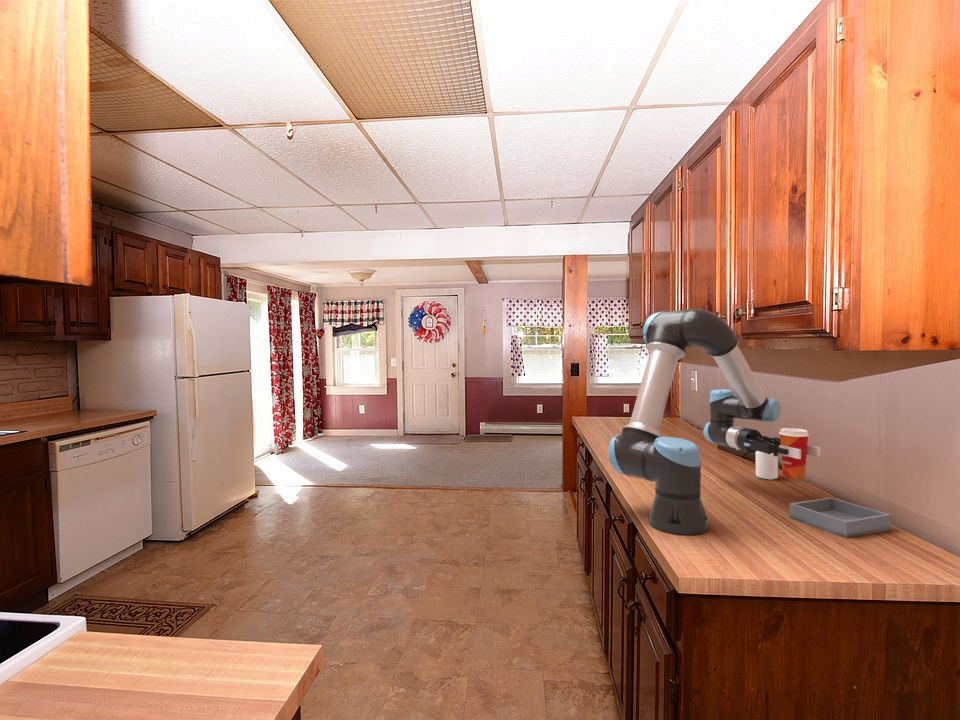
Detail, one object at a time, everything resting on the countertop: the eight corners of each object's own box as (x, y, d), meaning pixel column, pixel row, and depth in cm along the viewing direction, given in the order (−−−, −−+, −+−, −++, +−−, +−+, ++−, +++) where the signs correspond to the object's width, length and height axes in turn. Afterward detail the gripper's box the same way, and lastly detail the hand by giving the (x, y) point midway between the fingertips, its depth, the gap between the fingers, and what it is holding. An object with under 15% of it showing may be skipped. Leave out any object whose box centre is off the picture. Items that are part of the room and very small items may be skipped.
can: (771, 481, 175) (770, 448, 175) (751, 477, 181) (751, 445, 181) (782, 478, 179) (781, 446, 178) (762, 474, 185) (762, 443, 184)
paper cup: (778, 471, 152) (778, 426, 151) (807, 474, 148) (808, 428, 148) (779, 478, 145) (779, 431, 145) (810, 481, 141) (810, 433, 141)
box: (846, 538, 124) (846, 522, 124) (789, 517, 139) (789, 503, 139) (891, 529, 128) (891, 514, 128) (831, 510, 144) (831, 497, 144)
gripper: (767, 447, 166) (834, 463, 145) (721, 452, 160) (783, 469, 139) (767, 426, 166) (834, 437, 144) (721, 429, 160) (783, 442, 138)
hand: (809, 453), depth 141 cm, fingers closed on paper cup, 7 cm apart
